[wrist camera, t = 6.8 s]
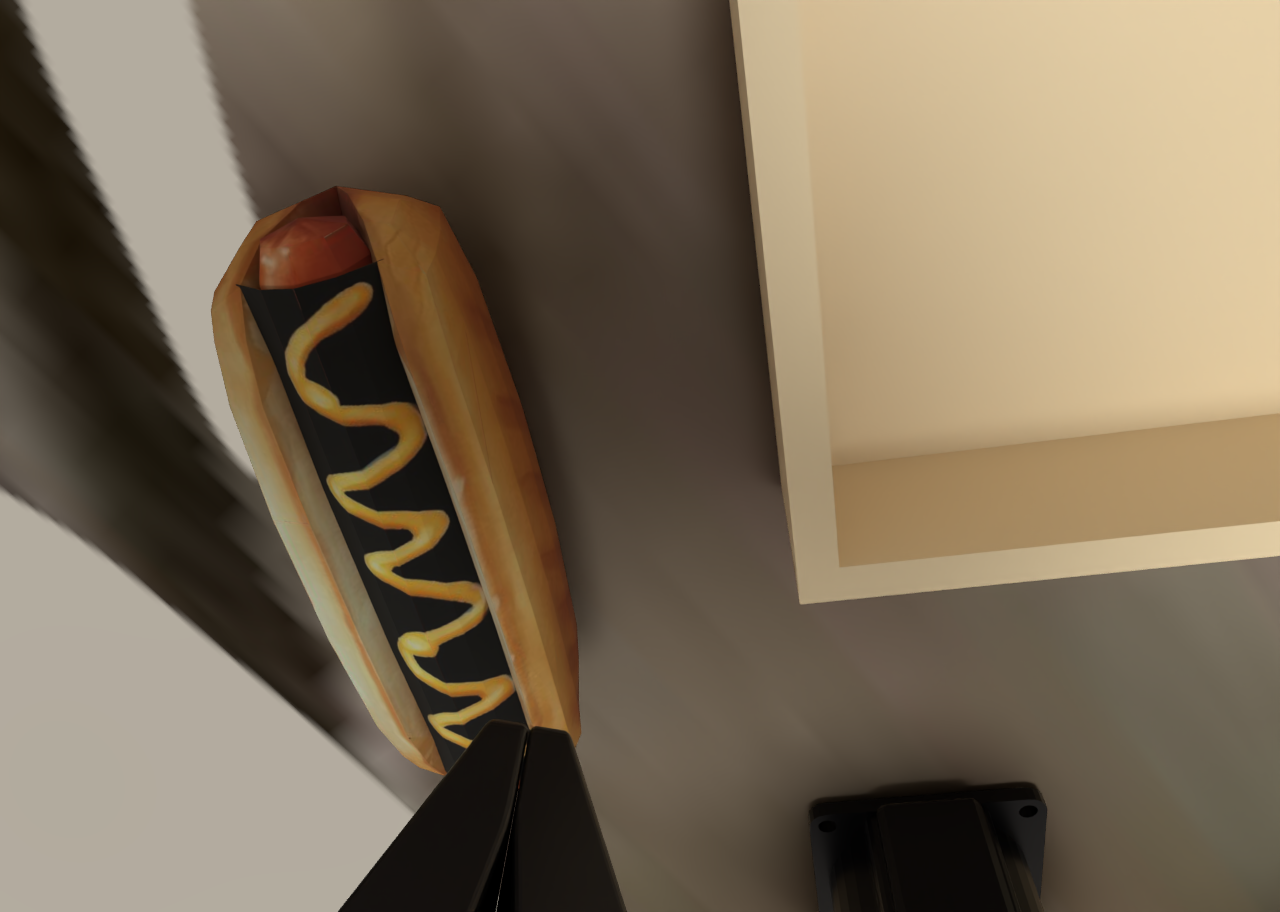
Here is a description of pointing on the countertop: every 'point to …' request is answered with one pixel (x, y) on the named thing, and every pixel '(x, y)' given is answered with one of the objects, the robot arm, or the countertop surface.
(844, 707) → the countertop surface
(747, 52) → the cream shallow tray
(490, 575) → the hot dog
